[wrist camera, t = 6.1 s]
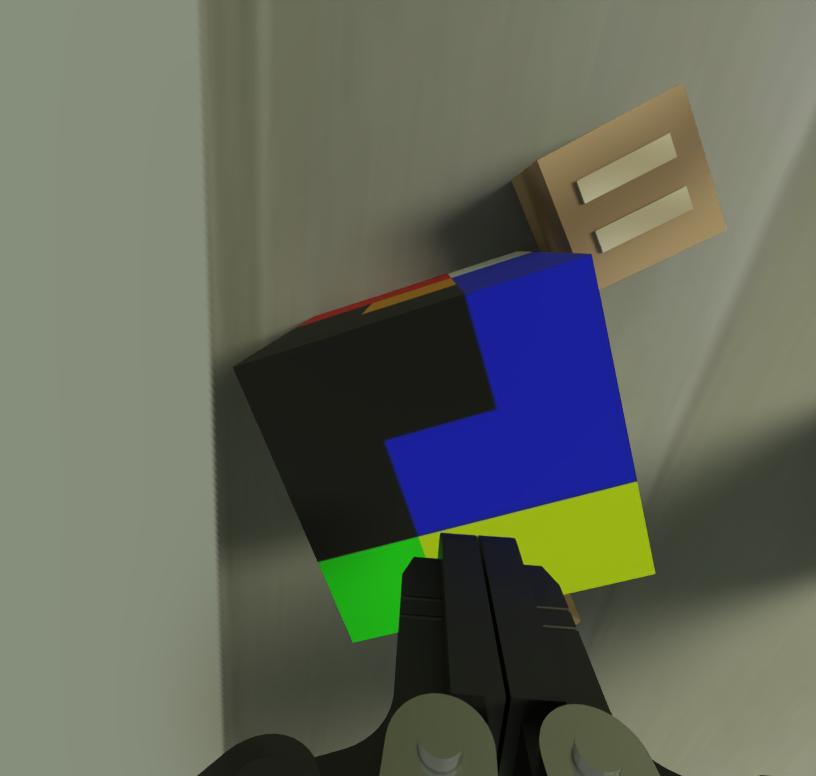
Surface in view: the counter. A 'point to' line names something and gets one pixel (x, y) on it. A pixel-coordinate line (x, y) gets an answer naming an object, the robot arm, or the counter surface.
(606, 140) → the two bar block
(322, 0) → the counter surface
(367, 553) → the puzzle toy
